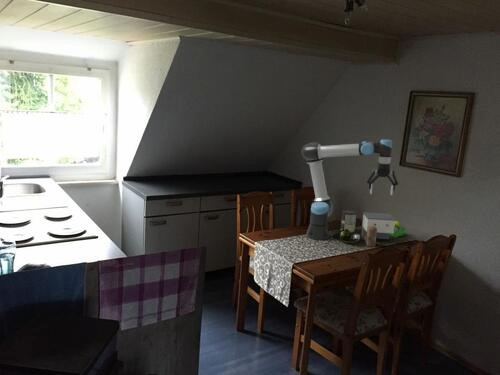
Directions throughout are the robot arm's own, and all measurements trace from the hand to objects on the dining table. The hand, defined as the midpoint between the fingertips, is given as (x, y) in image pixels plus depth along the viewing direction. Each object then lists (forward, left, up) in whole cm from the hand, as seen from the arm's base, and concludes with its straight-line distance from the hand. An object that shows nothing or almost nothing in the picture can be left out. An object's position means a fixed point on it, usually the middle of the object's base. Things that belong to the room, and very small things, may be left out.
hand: (381, 194), depth 283 cm
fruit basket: (+18, +16, -33) cm, 40 cm away
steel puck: (-13, -1, -32) cm, 35 cm away
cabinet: (+1, +2, -32) cm, 32 cm away
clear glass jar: (-16, +20, -33) cm, 41 cm away
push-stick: (-6, -6, -32) cm, 34 cm away
